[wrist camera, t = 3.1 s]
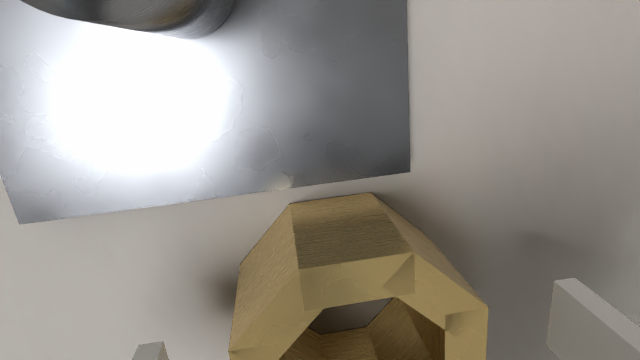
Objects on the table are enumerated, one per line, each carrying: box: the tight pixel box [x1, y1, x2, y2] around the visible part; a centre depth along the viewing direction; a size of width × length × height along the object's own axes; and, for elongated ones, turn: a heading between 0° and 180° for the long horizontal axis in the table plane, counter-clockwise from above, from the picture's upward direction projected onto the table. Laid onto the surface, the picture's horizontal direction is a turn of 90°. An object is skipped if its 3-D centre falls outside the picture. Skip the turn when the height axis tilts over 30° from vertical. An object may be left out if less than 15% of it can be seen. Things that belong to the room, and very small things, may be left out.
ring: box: [228, 192, 489, 360], centre depth 14 cm, size 8×8×5 cm
